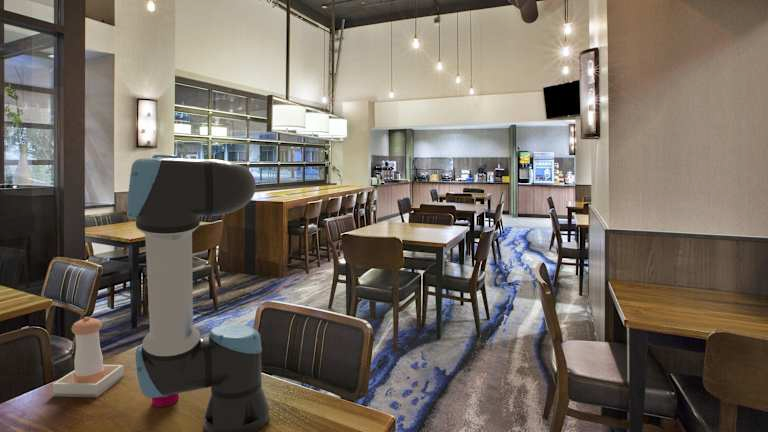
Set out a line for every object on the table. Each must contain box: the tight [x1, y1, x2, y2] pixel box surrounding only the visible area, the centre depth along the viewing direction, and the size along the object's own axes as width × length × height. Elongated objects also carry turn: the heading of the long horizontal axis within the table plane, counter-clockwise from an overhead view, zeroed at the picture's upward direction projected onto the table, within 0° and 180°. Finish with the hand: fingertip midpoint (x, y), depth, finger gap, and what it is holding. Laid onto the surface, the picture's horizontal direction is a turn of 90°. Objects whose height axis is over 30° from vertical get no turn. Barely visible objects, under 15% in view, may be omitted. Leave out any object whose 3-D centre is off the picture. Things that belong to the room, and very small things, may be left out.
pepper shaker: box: [70, 316, 105, 384], centre depth 121 cm, size 7×7×19 cm
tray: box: [51, 364, 125, 398], centre depth 122 cm, size 12×12×4 cm
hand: (170, 276), depth 132 cm, fingers open, 13 cm apart
